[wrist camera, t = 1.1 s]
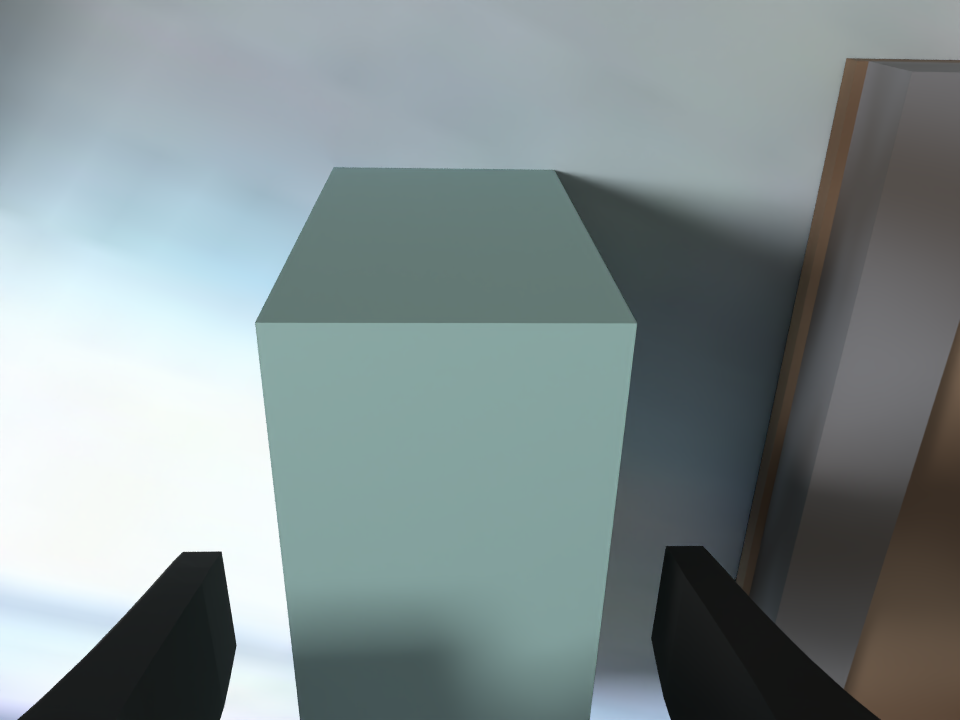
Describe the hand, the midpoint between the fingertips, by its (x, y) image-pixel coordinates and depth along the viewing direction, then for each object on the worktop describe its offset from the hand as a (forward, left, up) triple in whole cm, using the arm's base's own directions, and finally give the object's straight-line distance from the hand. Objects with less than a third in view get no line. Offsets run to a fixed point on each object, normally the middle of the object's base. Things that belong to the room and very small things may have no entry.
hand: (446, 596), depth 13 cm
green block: (0, 0, -5) cm, 5 cm away
